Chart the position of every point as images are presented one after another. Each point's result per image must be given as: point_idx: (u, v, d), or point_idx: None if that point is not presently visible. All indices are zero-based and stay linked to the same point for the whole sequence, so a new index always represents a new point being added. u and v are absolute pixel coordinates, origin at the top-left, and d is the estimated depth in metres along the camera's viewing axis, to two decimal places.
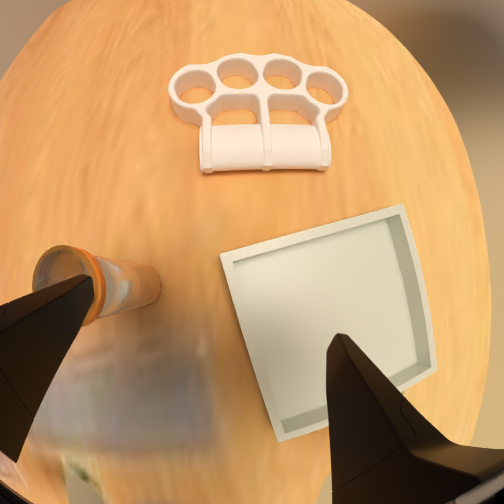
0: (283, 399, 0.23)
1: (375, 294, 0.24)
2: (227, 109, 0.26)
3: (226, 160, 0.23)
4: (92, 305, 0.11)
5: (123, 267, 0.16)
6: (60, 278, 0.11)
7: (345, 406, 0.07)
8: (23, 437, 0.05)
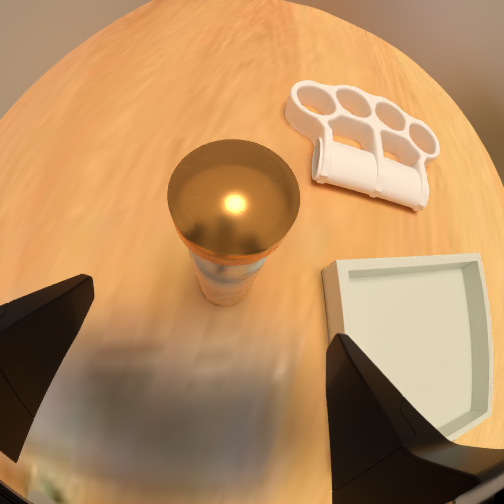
0: None
1: (449, 336, 0.21)
2: (337, 133, 0.26)
3: (343, 174, 0.22)
4: (290, 224, 0.08)
5: None
6: (237, 177, 0.08)
7: (345, 406, 0.07)
8: (23, 437, 0.05)
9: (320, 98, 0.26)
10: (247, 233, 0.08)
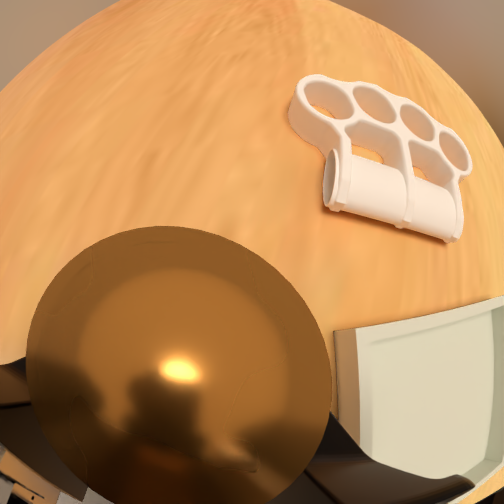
0: None
1: (473, 389, 0.15)
2: (354, 142, 0.21)
3: (365, 200, 0.17)
4: (300, 467, 0.03)
5: None
6: (166, 355, 0.03)
7: None
8: None
9: (333, 97, 0.20)
10: (199, 492, 0.02)
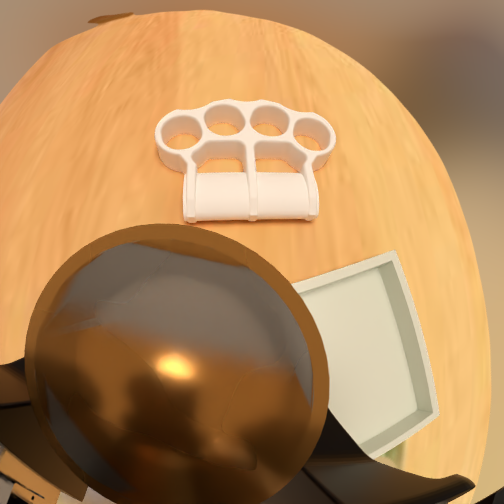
0: None
1: (370, 345, 0.23)
2: (213, 157, 0.27)
3: (210, 209, 0.23)
4: (298, 465, 0.03)
5: None
6: (162, 351, 0.03)
7: None
8: None
9: (191, 125, 0.26)
10: (196, 490, 0.02)
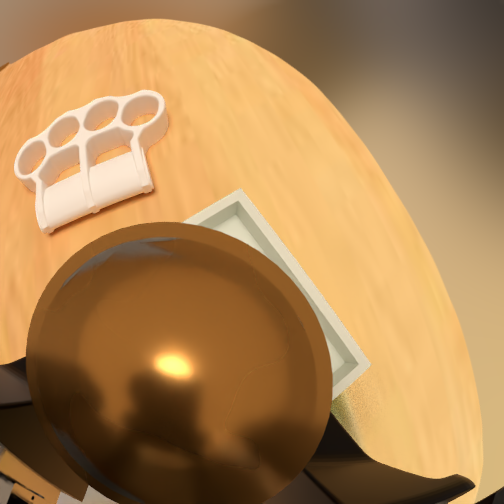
0: None
1: None
2: (64, 168, 0.24)
3: (57, 215, 0.20)
4: (301, 464, 0.03)
5: None
6: (166, 350, 0.03)
7: None
8: None
9: (42, 147, 0.23)
10: (199, 490, 0.02)
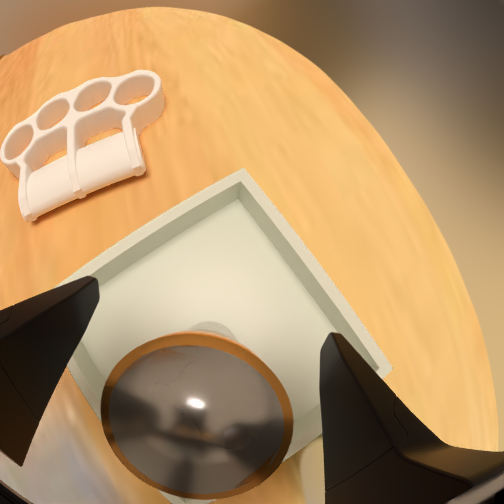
0: None
1: (250, 297, 0.19)
2: (52, 152, 0.21)
3: (40, 200, 0.17)
4: (274, 467, 0.05)
5: None
6: (196, 410, 0.05)
7: (338, 406, 0.07)
8: (29, 440, 0.05)
9: (31, 132, 0.20)
10: (215, 481, 0.04)
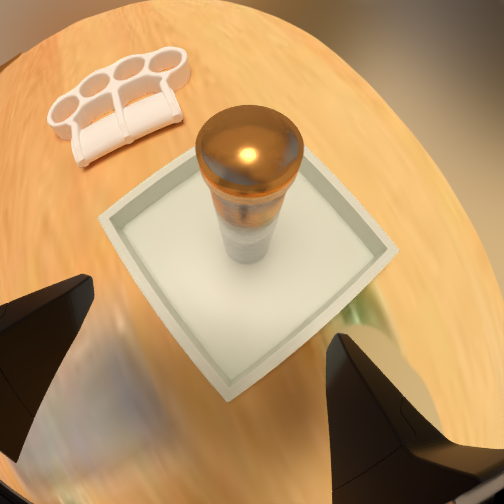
0: (220, 351, 0.20)
1: None
2: (96, 116, 0.26)
3: (93, 147, 0.23)
4: (297, 166, 0.10)
5: None
6: (250, 133, 0.10)
7: (345, 406, 0.07)
8: (23, 437, 0.05)
9: (74, 102, 0.25)
10: (263, 174, 0.09)
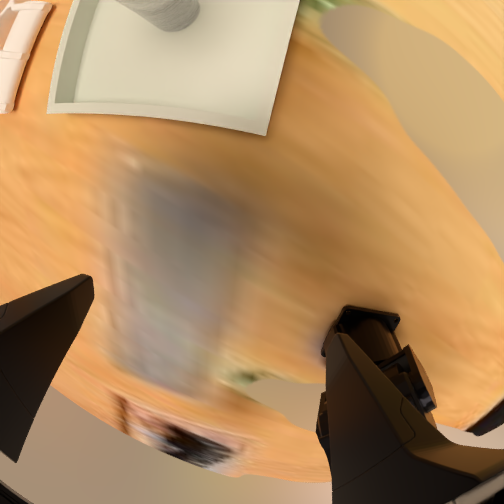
0: (227, 103, 0.17)
1: None
2: None
3: (5, 90, 0.14)
4: None
5: None
6: None
7: (345, 406, 0.07)
8: (23, 437, 0.05)
9: None
10: None
